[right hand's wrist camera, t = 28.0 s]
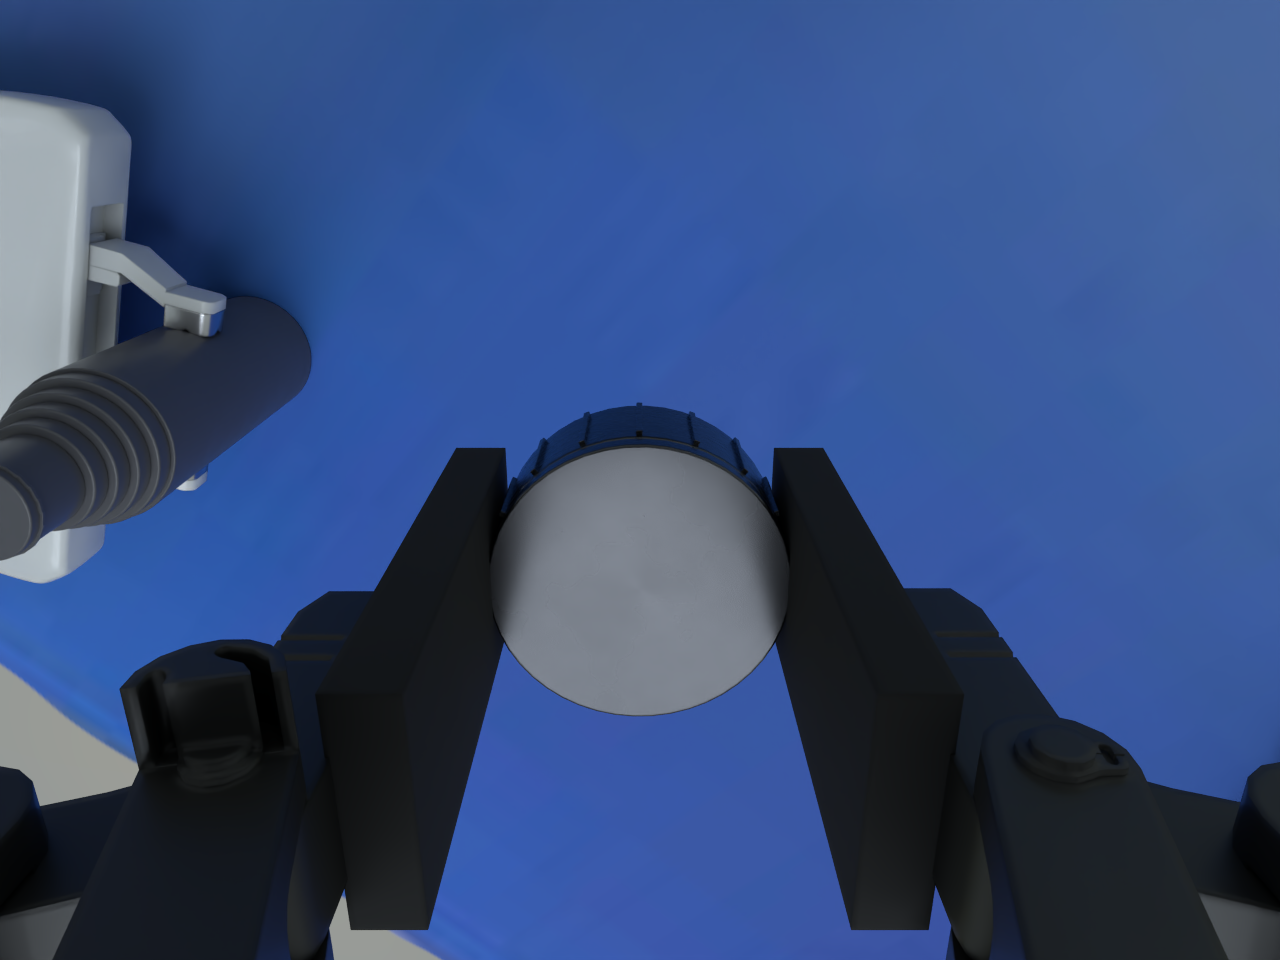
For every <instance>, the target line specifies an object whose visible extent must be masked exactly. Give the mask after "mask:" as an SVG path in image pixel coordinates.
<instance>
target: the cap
mask: <svg viewBox="0 0 1280 960" xmlns="http://www.w3.org/2000/svg"><path fill="white" fill-rule="evenodd" d="M499 516H500V517H502V519H501V522H500V525H499V528H498V530H497V533H496V536H495V539H494V542H493V545H492V548H491V553H490V560H489V562H490V579H491V594H492V609H493V618H494V621H495V624H496V626H497V629H498V631H499V634H500V635H501V637H502V639H503V641H504V642H505V644H506V646H507V648H508V649H509V651H510V652H511V653H512V655H513V656H514V657H515V659H516V660H517V661H518V663H519V664H520V665H521V666H522V667H523V668H524V669H525V670H526V671H527V672H528V673H529V674H530V675H531V676H532V677H533V678H534V679H536V680H537V681H538V682H540V683H541V684H542V685H543V686H545V687H546V688H547V689H549V690H551V691H552V692H554V693H556V694H557V695H559V696H561V697H562V698H565V699H567V700H569V701H571V702H573V703H575V704H578V705H580V706H583V707H586V708H589V709H593V710H596V711H600V712H605V713H610V714H615V715H625V716H655V715H663V714H671V713H675V712H679V711H683V710H687V709H690V708H693V707H696V706H699V705H701V704H704V703H707V702H709V701H711V700H713V699H715V698H717V697H719V696H721V695H722V694H724V693H726V692H727V691H729V690H730V689H732V688H733V687H735V686H736V685H738V684H739V683H740V682H741V681H742V680H744V679H745V678H746V677H747V676H748V675H749V674H751V673H752V672H753V671H754V669H755V668H756V667H757V666H758V665H759V664H760V663H761V662H762V661H763V659H764V658H765V657H766V655H767V654H768V652H769V651H770V649H771V648H772V647H773V645H774V643H775V642H776V640H777V638H778V636H779V634H780V632H781V630H782V628H783V625H784V622H785V619H786V614H787V600H788V585H789V569H790V555H789V551H788V547H787V544H786V540H785V537H784V534H783V532H782V529H781V526H780V523H779V520H778V516H780V512H779V509H778V506H777V504H776V501H775V498H774V495H773V493H772V490H771V487H770V484H769V482H768V479H767V477H764V478H762V476H761V474H760V473H759V471H758V469H757V468H756V466H755V464H754V463H753V461H752V460H751V459H750V458H749V456H748V455H747V454H746V453H745V451H744V450H743V449H742V448H741V446H740V443H739V440H738V439H737V438H734V439H733V440H732V439H731V438H730V437H729V436H728V435H726V434H725V433H723V432H722V431H721V430H719V429H718V428H716V427H715V426H713V425H711V424H709V423H707V422H705V421H703V420H702V419H700V418H697V417H695V413H693V412H689V414H686V413H684V412H680V411H676V410H672V409H668V408H662V407H653V406H642V403H637V406H625V407H618V408H612V409H607V410H603V411H600V412H596V413H593V414H590V413H589V412H586V413H584V416H583V418H580V419H578V420H576V421H574V422H572V423H570V424H568V425H567V426H565V427H563V428H562V429H560V430H558V431H557V432H556V433H555V434H553V435H552V436H551V437H550V438H548V439H547V440H546V439H545V438H543V439H542V440H541V441H540V443H539V446H538V449H537V450H536V451H535V452H534V453H533V454H532V455H531V457H530V458H529V459H528V461H527V462H526V464H525V465H524V466H523V468H522V470H521V472H520V473H519V475H518V477H517V478H515V477H513V478H512V480H511V483H510V485H509V488H508V491H507V494H506V496H505V499H504V502H503V505H502V507H501V510H500V513H499Z"/></svg>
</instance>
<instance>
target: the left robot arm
mask: <svg viewBox="0 0 1280 960" xmlns="http://www.w3.org/2000/svg"><path fill="white" fill-rule="evenodd" d="M131 146H132V142H131V137H130V135H129V133H128V132H127V130H126V129H125V128H124V127H123V126H122V124H121V123H120V122H119V121H118V120H117V119H116V118H115V117H114V116H113V115H112V114H111V113H110V111H108V110H107V109H104V108H102V107H98V106H95V105H91V104H87V103H83V102H78V101H74V100H69V99H64V98H58V97H53V96H46V95H39V94H32V93H23V92H14V91H2V90H0V420H1V418H2V416H3V415H4V414H5V412H6V411H7V410H8V408H9V406H10V404H11V403H12V401H13V400H14V399H15V398H16V396H17V395H19V394H20V393H21V392H22V391H23V390H25V389H26V388H27V387H28V386H29V385H31V384H32V383H33V382H34V381H35V380H37V379H38V378H40V377H41V376H43V375H45V374H48V373H50V372H52V371H55V370H57V369H60V368H62V367H64V366H67V365H69V364H72V363H74V362H77V361H79V360H81V359H84V358H86V357H89V356H91V355H94V354H96V353H98V352H101V351H103V350H106V349H108V348H110V347H113V346H115V345H118V334H119V319H120V305H121V290H122V285H124V284H127V283H131V282H133V283H134V284H135V285H136V286H138V287H139V288H140V289H141V290H143V291H144V292H145V293H146V294H148V295H149V296H150V297H151V298H153V299H154V300H155V301H156V302H158V303H159V304H160V305H161V306H163V307H165V310H164V327H166V328H170V329H173V330H179V331H182V330H185V329H187V330H188V331H189V332H190V333H191V334H194V335H197V336H202V337H211V336H214V335H215V334H216V332H219V333H220V332H222V330H223V322H224V314H225V309H226V298H227V297H226V296H224V295H223V294H220V293H216V292H212V291H209V290H205V289H201V288H197V287H194V286H190V285H187V281H186V280H185V279H183V278H182V277H181V276H180V275H179V274H178V273H177V272H176V271H175V270H174V269H173V268H171V267H170V266H169V265H168V264H167V263H166V262H165V261H164V260H163V259H162V258H161V257H159V256H158V255H157V254H156V253H155V252H154V251H153V250H152V249H151V248H150V247H148V246H144V245H140V244H136V243H133V242H129V241H125V232H126V217H127V203H128V188H129V174H130V160H131ZM207 471H208V464H207V465H206V466H205V467H204V468H202V469H201V470H200V471H198V472H197V473H196V474H195V475H193V476H192V477H191V478H189V479H188V480H187V481H186V482H184V483H183V484H182V485H180V486H179V487H178V488H177V489H179V490H183V491H190V490H195V489H197V488H198V487H199V486H201V485H202V484H203V483H204V482H206V481H207ZM104 538H105V524H104V525H97V526H90V527H82V528H75V529H66V530H61V531H51V532H50V533H48V534H47V535H45V536H44V537H42V538H41V539H40V540H39V541H38V543H37V544H36V545H35V546H34V547H33V548H31V549H30V550H28V551H27V552H26V553H24V554H21V555H18V556H15V557H12V558H9V559H6V560H2V561H0V573H2V574H5V575H8V576H11V577H14V578H18V579H22V580H25V581H30V582H34V583H48V582H51V581H54V580H57V579H59V578H61V577H63V576H65V575H67V574H69V573H71V572H72V571H74V570H75V569H77V568H78V567H79V566H81V565H82V564H83V563H85V562H86V561H87V560H88V559H90V558H91V557H92V556H93V555H94V554H96V553H97V552H98V551H99V550H100V549H101V547H102V546H103V543H104Z"/></svg>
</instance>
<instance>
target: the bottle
mask: <svg viewBox="0 0 1280 960" xmlns="http://www.w3.org/2000/svg"><path fill="white" fill-rule="evenodd" d="M310 368H311V353H310V348H309V344H308V341H307V339H306V336H305V334H304V332H303V330H302V329H301V327H300V326H299V324H298V323H297V322H296V321H295V320H294V318H293V317H292V316H291V315H290V314H288V313H287V312H286V311H285V310H283V309H282V308H281V307H279V306H277V305H275V304H274V303H272V302H269V301H267V300H264V299H260V298H256V297H243V296H242V297H234V298H230V299H227V300H226V309H225V314H224V322H223V330H222V332H220V333H219V332H216V334H215V335H214V336H211V337H202V336H197V335H194V334H191V333H190V332H189V331H188V330H187V329H185V330H182V331H179V330H173V329H170V328H166V327H164V326H161V327H159V328H157V329H154V330H152V331H149V332H147V333H144V334H142V335H140V336H137V337H135V338H132V339H130V340H127V341H125V342H123V343H120V344H118V345H115V346H113V347H110V348H108V349H106V350H103V351H101V352H98V353H96V354H94V355H91V356H89V357H86V358H84V359H81V360H79V361H77V362H74V363H72V364H69V365H67V366H64V367H62V368H60V369H57V370H55V371H52V372H50V373H48V374H45V375H43V376H41V377H40V378H38V379H37V380H35V381H34V382H33V383H32V384H31V385H29V386H28V387H27V388H26V389H25V390H23V391H22V392H21V393H20V394H19V395H17V396H16V398H15V399H14V400H13V401H12V403H11V404H10V406H9V408H8V410H7V411H6V412H5V414H4V415H3V416H2V418H1V420H0V561H2V560H6V559H9V558H12V557H15V556H18V555H21V554H24V553H26V552H27V551H28V550H30V549H31V548H33V547H34V546H35V545H36V544H37V543H38V541H39V540H40V539H41V538H42V537H44V536H45V535H47V534H48V533H50V532H51V531H61V530H66V529H75V528H82V527H90V526H97V525H104V524H112V523H116V522H120V521H123V520H126V519H128V518H131V517H133V516H136V515H139V514H141V513H143V512H145V511H147V510H149V509H150V508H152V507H153V506H155V505H156V504H157V503H158V502H160V501H161V500H162V499H164V498H165V497H166V496H167V495H169V494H170V493H171V492H173V491H174V490H175V489H177V488H178V487H179V486H180V485H182V484H183V483H184V482H186V481H187V480H188V479H189V478H191V477H192V476H193V475H195V474H196V473H197V472H198V471H200V470H201V469H202V468H204V467H205V466H206V465H207V464H209V463H210V462H211V461H213V460H214V459H215V458H217V457H218V456H219V455H220V454H222V453H223V452H224V451H226V450H227V449H228V448H229V447H231V446H232V445H233V444H235V443H236V442H237V441H238V440H240V439H241V438H242V437H244V436H245V435H246V434H247V433H249V432H250V431H251V430H253V429H254V428H255V427H257V426H258V425H259V424H260V423H262V422H263V421H264V420H266V419H267V418H268V417H269V416H271V415H272V414H273V413H275V412H276V411H277V410H278V409H280V408H281V407H282V406H284V405H285V404H286V403H287V402H289V401H290V400H291V399H293V398H294V397H295V396H296V395H297V394H298V393H299V392H300V391H301V390H302V388H303V387H304V385H305V384H306V382H307V379H308V377H309V373H310Z"/></svg>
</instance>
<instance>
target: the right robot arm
mask: <svg viewBox="0 0 1280 960" xmlns="http://www.w3.org/2000/svg"><path fill="white" fill-rule="evenodd" d="M507 491H508V487H507V469H506V451H505V448H456V449H455V451H454V453H453V455H452V456H451V458H450V460H449V462H448V463H447V465H446V467H445V469H444V470H443V472H442V474H441V476H440V477H439V479H438V481H437V483H436V484H435V486H434V488H433V490H432V491H431V493H430V495H429V496H428V498H427V500H426V502H425V503H424V505H423V507H422V509H421V510H420V512H419V514H418V516H417V517H416V519H415V521H414V523H413V524H412V526H411V528H410V530H409V531H408V533H407V535H406V537H405V538H404V540H403V542H402V543H401V545H400V547H399V549H398V550H397V552H396V554H395V556H394V557H393V559H392V561H391V563H390V564H389V566H388V568H387V570H386V571H385V573H384V575H383V577H382V578H381V580H380V582H379V584H378V585H377V587H376V589H375V590H374V591H329V592H327V593H326V594H324V595H323V596H321V597H320V598H318V599H317V600H315V601H314V602H312V603H311V604H309V605H308V606H306V607H305V608H303V609H302V610H300V611H299V612H298V613H297V614H296V616H295V617H294V618H293V620H292V621H291V623H290V624H289V625H288V627H287V628H286V630H285V631H284V632H283V634H282V635H281V640H278V641H277V642H276V644H275V645H274V647H273V646H272V645H269V644H265V643H261V642H257V641H253V640H249V639H245V640H216V641H211V642H206V643H201V644H196V645H190V646H187V647H185V648H182V649H179V650H177V651H174V652H171V653H168V654H166V655H163V656H160V657H158V658H157V659H155V660H154V661H152V662H150V663H149V664H147V665H145V666H144V667H142V668H140V669H139V670H137V671H135V672H134V673H133V675H132V676H131V677H130V678H129V679H128V680H127V681H126V682H125V683H124V684H123V686H122V687H121V688H120V693H121V697H122V701H123V706H124V710H125V714H126V718H127V722H128V726H129V730H130V734H131V738H132V743H133V747H134V751H135V755H136V759H137V763H138V767H139V771H138V773H137V776H136V778H135V780H134V782H133V784H132V786H129V787H126V788H122V789H118V790H114V791H111V792H107V793H102V794H97V795H92V796H88V797H83V798H78V799H73V800H68V801H63V802H58V803H54V804H49V805H44V806H40V805H39V802H38V798H37V795H36V792H35V788H34V785H33V782H32V780H30V779H29V778H28V777H27V776H26V775H25V774H23V773H22V772H21V771H20V770H18V769H12V768H6V767H1V766H0V960H334V957H333V950H332V943H331V937H330V931H329V927H330V924H331V921H332V919H333V916H334V914H335V911H336V909H337V906H338V903H339V901H340V898H341V896H342V893H343V891H344V889H345V895H346V902H347V908H348V915H349V921H350V928H351V930H428V928H429V924H430V921H431V917H432V913H433V909H434V905H435V902H436V898H437V894H438V890H439V887H440V883H441V879H442V875H443V871H444V868H445V864H446V860H447V856H448V852H449V849H450V845H451V841H452V837H453V833H454V830H455V826H456V822H457V818H458V815H459V811H460V807H461V803H462V799H463V796H464V792H465V788H466V784H467V780H468V777H469V773H470V769H471V765H472V761H473V758H474V754H475V750H476V746H477V742H478V739H479V735H480V731H481V727H482V724H483V720H484V716H485V712H486V708H487V705H488V701H489V697H490V693H491V689H492V686H493V682H494V678H495V674H496V670H497V667H498V663H499V659H500V655H501V652H502V648H503V644H504V641H503V639H502V637H501V635H500V634H499V631H498V629H497V626H496V624H495V621H494V618H493V609H492V594H491V579H490V562H489V560H490V553H491V548H492V545H493V542H494V539H495V536H496V533H497V530H498V528H499V525H500V522H501V519H502V517H500V516H499V513H500V510H501V507H502V505H503V502H504V499H505V496H506V494H507ZM772 493H773V495H774V498H775V501H776V504H777V506H778V509H779V512H780V516H778V520H779V523H780V526H781V529H782V532H783V534H784V537H785V540H786V544H787V547H788V551H789V555H790V569H789V585H788V600H787V614H786V619H785V622H784V625H783V628H782V630H781V632H780V634H779V636H778V638H777V640H776V646H777V650H778V654H779V658H780V661H781V665H782V669H783V673H784V676H785V680H786V684H787V688H788V692H789V695H790V699H791V703H792V707H793V711H794V714H795V718H796V722H797V726H798V730H799V733H800V737H801V741H802V745H803V749H804V752H805V756H806V760H807V764H808V767H809V771H810V775H811V779H812V783H813V786H814V790H815V794H816V798H817V802H818V805H819V809H820V813H821V817H822V821H823V824H824V828H825V832H826V836H827V840H828V843H829V847H830V851H831V855H832V858H833V862H834V866H835V870H836V874H837V877H838V881H839V885H840V889H841V893H842V896H843V900H844V904H845V908H846V912H847V915H848V919H849V923H850V927H851V930H929V924H930V917H931V911H932V904H933V898H934V891H935V885H936V888H937V890H938V893H939V895H940V898H941V900H942V903H943V905H944V908H945V911H946V913H947V916H948V918H949V921H950V923H951V931H950V937H949V943H948V949H947V955H946V960H1280V762H1279V763H1273V764H1267V765H1261V766H1260V767H1259V768H1258V769H1257V770H1256V771H1254V772H1253V773H1252V774H1251V775H1250V776H1249V777H1248V779H1247V782H1246V786H1245V789H1244V792H1243V796H1242V799H1241V802H1236V801H1231V800H1227V799H1222V798H1217V797H1212V796H1207V795H1202V794H1197V793H1193V792H1188V791H1183V790H1178V789H1173V788H1169V787H1165V786H1162V785H1158V784H1154V783H1151V782H1147V781H1146V778H1145V776H1144V774H1143V772H1142V770H1141V768H1140V767H1139V765H1138V764H1137V763H1136V761H1135V760H1134V759H1133V758H1132V756H1131V755H1130V754H1129V752H1128V751H1127V750H1126V749H1125V748H1123V747H1122V746H1121V745H1119V744H1118V743H1116V742H1115V741H1113V740H1112V739H1111V738H1109V737H1108V736H1106V735H1105V734H1104V733H1102V732H1099V731H1097V730H1095V729H1092V728H1090V727H1088V726H1085V725H1083V724H1081V723H1078V722H1076V721H1072V720H1068V719H1063V718H1059V717H1058V715H1057V714H1056V712H1055V711H1054V710H1053V708H1052V707H1051V705H1050V704H1049V703H1048V701H1047V700H1046V698H1045V697H1044V695H1043V694H1042V693H1041V691H1040V690H1039V688H1038V687H1037V686H1036V684H1035V683H1034V681H1033V680H1032V679H1031V677H1030V676H1029V674H1028V673H1027V672H1026V670H1025V669H1024V667H1023V666H1022V665H1021V663H1020V662H1019V660H1018V659H1017V658H1016V657H1013V652H1012V651H1011V649H1010V648H1009V646H1008V645H1007V644H1006V642H1005V641H1004V639H1003V638H1002V637H999V632H998V631H997V630H996V628H995V627H994V625H993V624H992V623H991V621H990V620H989V618H988V617H987V615H986V614H985V613H984V611H983V610H982V609H981V608H980V607H978V606H977V605H975V604H974V603H972V602H971V601H969V600H968V599H966V598H965V597H963V596H961V595H960V594H958V593H957V592H955V591H954V590H952V589H951V588H903V586H902V585H901V583H900V581H899V579H898V578H897V576H896V574H895V572H894V571H893V569H892V567H891V566H890V564H889V562H888V560H887V559H886V557H885V555H884V553H883V552H882V550H881V548H880V546H879V545H878V543H877V541H876V539H875V538H874V536H873V534H872V532H871V531H870V529H869V527H868V525H867V524H866V522H865V520H864V518H863V517H862V515H861V513H860V512H859V510H858V508H857V506H856V505H855V503H854V501H853V499H852V498H851V496H850V494H849V492H848V491H847V489H846V487H845V485H844V484H843V482H842V480H841V478H840V477H839V475H838V473H837V471H836V470H835V468H834V466H833V464H832V463H831V461H830V459H829V457H828V456H827V454H826V452H825V451H824V449H823V448H774V458H773V476H772Z"/></svg>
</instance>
